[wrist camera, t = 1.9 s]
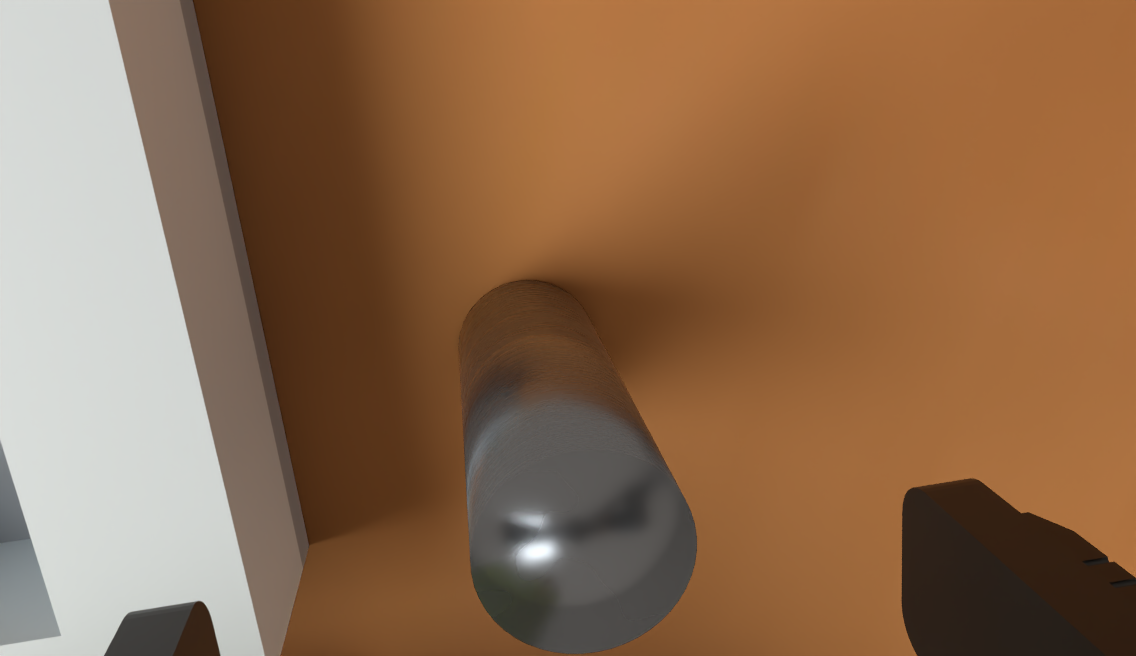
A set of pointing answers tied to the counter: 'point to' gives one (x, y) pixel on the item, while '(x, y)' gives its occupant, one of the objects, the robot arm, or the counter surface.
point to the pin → (563, 480)
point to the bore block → (130, 344)
